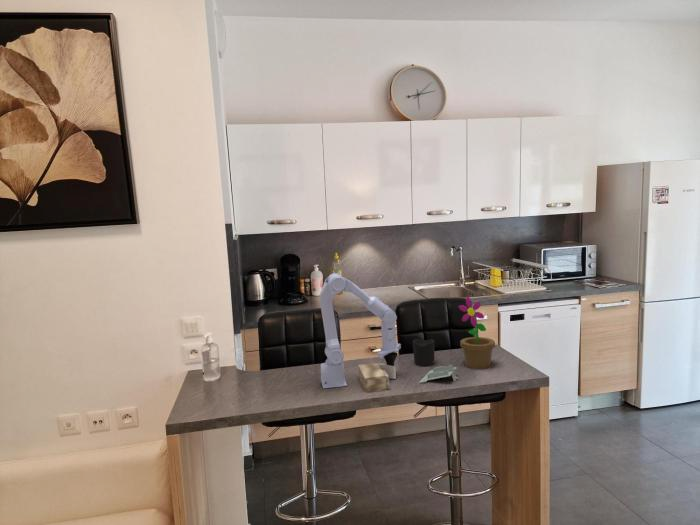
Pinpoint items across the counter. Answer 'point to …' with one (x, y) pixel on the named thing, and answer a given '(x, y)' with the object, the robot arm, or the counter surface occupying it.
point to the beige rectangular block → (373, 377)
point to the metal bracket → (440, 373)
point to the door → (389, 370)
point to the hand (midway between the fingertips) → (390, 370)
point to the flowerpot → (476, 339)
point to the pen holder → (423, 352)
